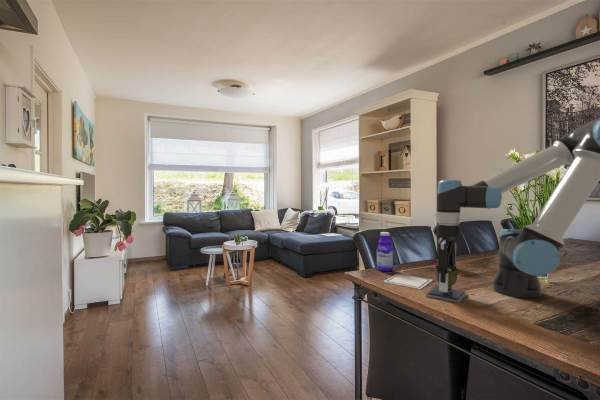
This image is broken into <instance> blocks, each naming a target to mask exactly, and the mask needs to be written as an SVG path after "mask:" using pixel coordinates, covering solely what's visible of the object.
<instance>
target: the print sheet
mask: <svg viewBox="0 0 600 400" xmlns="http://www.w3.org/2000/svg"><path fill="white" fill-rule="evenodd" d="M433 281H434V280H433V279H431V278H425V277H424V278H423V277H421V276H420V277H418V276H415V275H407V274H402V273H397V274H393V276H391V277H389V278H387V279H386V280H383V281H382V283H385V284H390V285H396V286H400V287H406V288H411V289H416V290H422V289H424V288H425V287H426V286H427V285H429V284H430V283H432V282H433Z"/></svg>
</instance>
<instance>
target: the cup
mask: <svg viewBox="0 0 600 400" xmlns="http://www.w3.org/2000/svg"><path fill="white" fill-rule="evenodd" d="M448 269H452V270H451V271H449V270H448V272H447V273H448V290H451V289H453V287H454V285H455V284H456V282H457V279H458V273H459V268H457V266H456V268H455V266H453V267H451V266H449V268H448ZM437 270H438V264H436V265H435V278H436V281H437V283H438V284H439V272H437ZM451 286H453V287H451Z"/></svg>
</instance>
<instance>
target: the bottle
mask: <svg viewBox="0 0 600 400" xmlns="http://www.w3.org/2000/svg"><path fill="white" fill-rule="evenodd" d="M379 235H380V238H379V240H378V245H377V248H376V268H377V270H379V271H384V272H391V271H392V270H393V269H394V247H393V246H392V241H391V237H390V232H388V231H380V234H379Z"/></svg>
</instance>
